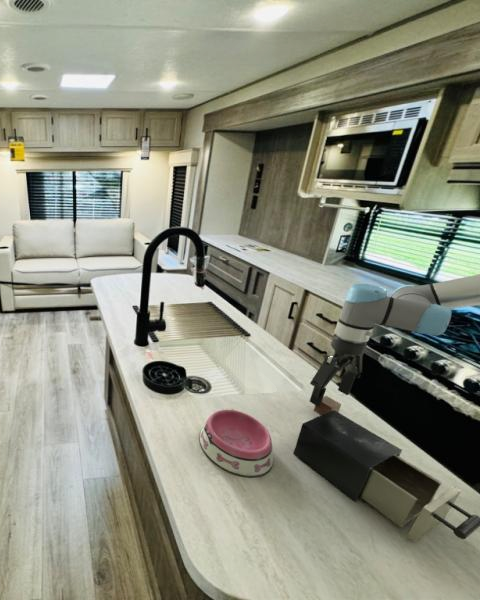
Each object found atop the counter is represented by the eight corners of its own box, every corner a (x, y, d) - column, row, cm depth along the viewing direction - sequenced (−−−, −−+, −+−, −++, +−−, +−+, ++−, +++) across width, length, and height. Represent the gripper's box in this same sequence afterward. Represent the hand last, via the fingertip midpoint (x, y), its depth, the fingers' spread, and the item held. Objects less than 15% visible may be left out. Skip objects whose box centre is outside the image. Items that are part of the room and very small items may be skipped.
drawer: (474, 540, 63) (494, 510, 59) (444, 565, 59) (464, 535, 55) (369, 469, 78) (380, 442, 75) (340, 485, 74) (351, 458, 71)
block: (337, 415, 97) (341, 404, 95) (328, 419, 95) (332, 407, 94) (322, 406, 101) (326, 395, 99) (313, 410, 99) (317, 399, 98)
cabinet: (386, 482, 76) (402, 449, 72) (354, 502, 71) (369, 468, 67) (323, 439, 88) (333, 409, 84) (293, 454, 84) (302, 423, 80)
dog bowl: (287, 480, 77) (293, 459, 74) (209, 474, 78) (213, 454, 76) (255, 425, 94) (259, 406, 91) (192, 421, 96) (194, 403, 93)
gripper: (337, 353, 81) (315, 417, 89) (392, 335, 89) (367, 395, 97) (307, 340, 87) (289, 401, 95) (362, 324, 96) (341, 381, 104)
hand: (329, 398), depth 96 cm, fingers open, 13 cm apart
